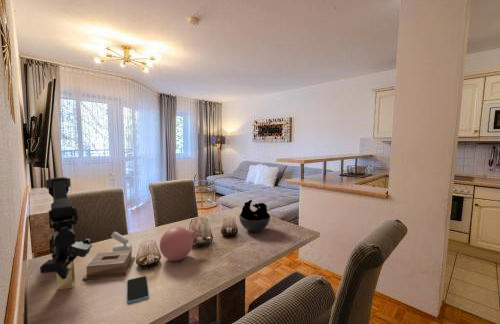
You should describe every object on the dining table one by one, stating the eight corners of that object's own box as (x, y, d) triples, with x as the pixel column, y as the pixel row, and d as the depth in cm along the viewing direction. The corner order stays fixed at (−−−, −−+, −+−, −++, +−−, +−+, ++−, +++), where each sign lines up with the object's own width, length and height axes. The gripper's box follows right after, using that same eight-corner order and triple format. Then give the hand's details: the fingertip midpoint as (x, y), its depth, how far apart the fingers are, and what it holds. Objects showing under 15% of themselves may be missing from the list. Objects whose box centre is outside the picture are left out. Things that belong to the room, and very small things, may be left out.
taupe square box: (125, 275, 96) (125, 264, 96) (82, 280, 93) (81, 268, 92) (134, 258, 111) (134, 248, 110) (97, 261, 107) (97, 251, 107)
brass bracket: (72, 287, 88) (71, 261, 87) (57, 289, 87) (55, 263, 86) (75, 284, 90) (73, 259, 89) (60, 286, 89) (58, 260, 88)
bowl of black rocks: (271, 237, 138) (271, 207, 136) (238, 236, 138) (238, 206, 137) (268, 225, 158) (269, 198, 156) (239, 224, 158) (240, 198, 157)
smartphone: (146, 275, 96) (149, 295, 83) (146, 278, 96) (149, 298, 83) (127, 280, 93) (126, 302, 79) (127, 282, 93) (126, 305, 79)
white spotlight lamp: (118, 228, 123) (134, 230, 121) (119, 245, 124) (135, 247, 122) (105, 234, 115) (122, 236, 113) (106, 253, 116) (123, 255, 114)
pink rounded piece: (206, 257, 112) (206, 227, 111) (165, 270, 100) (164, 237, 99) (194, 246, 125) (194, 218, 123) (156, 256, 113) (155, 226, 112)
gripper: (75, 247, 79) (77, 289, 81) (97, 227, 98) (99, 262, 99) (37, 250, 77) (40, 293, 78) (67, 229, 95) (69, 265, 96)
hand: (65, 277), depth 88 cm, fingers closed on brass bracket, 2 cm apart
